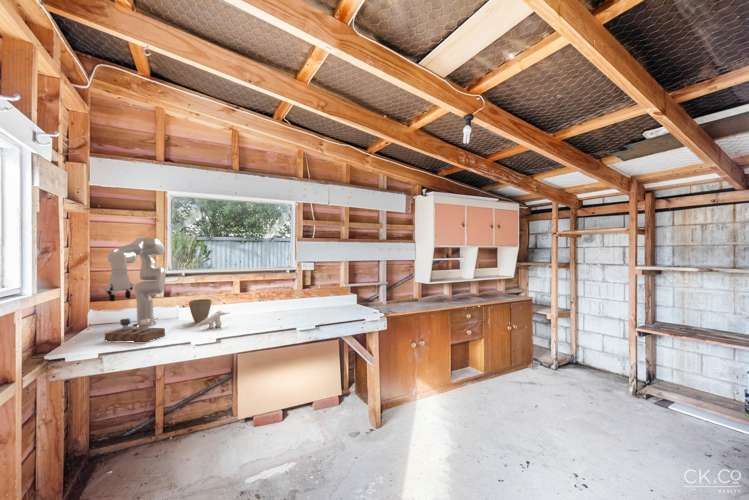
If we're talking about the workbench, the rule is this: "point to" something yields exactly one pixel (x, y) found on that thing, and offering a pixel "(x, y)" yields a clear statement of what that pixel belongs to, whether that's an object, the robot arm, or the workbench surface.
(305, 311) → the workbench surface
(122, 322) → the black knob
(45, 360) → the workbench surface
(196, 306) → the plant pot
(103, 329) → the workbench surface
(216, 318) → the white dinosaur figurine
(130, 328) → the mount
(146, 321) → the ivory knob
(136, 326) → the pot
